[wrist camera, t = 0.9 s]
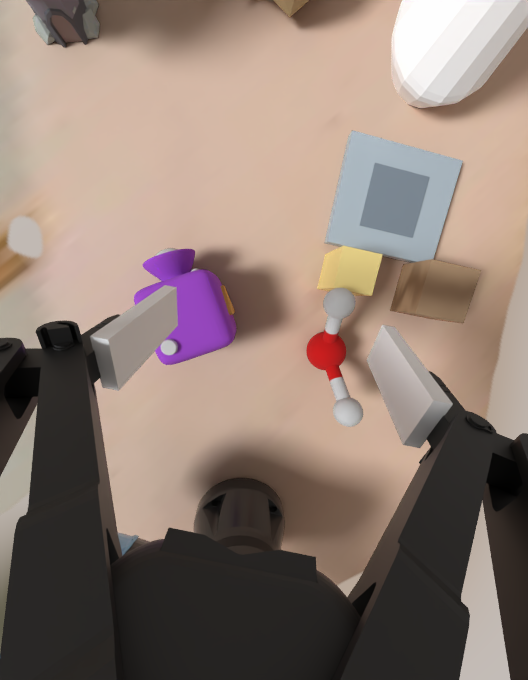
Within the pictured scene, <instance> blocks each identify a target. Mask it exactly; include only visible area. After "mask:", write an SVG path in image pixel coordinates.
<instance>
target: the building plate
mask: <svg viewBox="0 0 528 680" xmlns="http://www.w3.org/2000/svg"><path fill="white" fill-rule="evenodd" d="M462 162H463V161H462V160H458V159H454V158H451V157H447V156H444V155H440V154H436V153H433V152H429V151H425V150H422V149H418V148H415V147H411V146H407V145H404V144H400V143H396V142H393V141H389V140H385V139H382V138H378V137H375V136H371V135H367V134H364V133H360V132H356V131H353V130H352V132H351V133H350V135H349V136H348V141H347V145H346V150H345V154H344V159H343V163H342V167H341V172H340V176H339V181H338V185H337V190H336V194H335V199H334V203H333V207H332V212H331V216H330V221H329V225H328V230H327V234H326V238H325V243H326V244H330V245H335V246H339V247H341V246H348V247H352V248H357V249H361V250H365V251H370V252H374V253H379V254H383V255H382V256H384V257H388V258H392V259H397V260H401V261H406V262H410V263H414V262H419V261H425V260H430V259H433V258H434V255H435V252H436V248H437V245H438V242H439V238H440V235H441V232H442V228H443V225H444V222H445V218H446V215H447V212H448V208H449V205H450V202H451V198H452V195H453V192H454V188H455V185H456V182H457V179H458V175H459V172H460V169H461V165H462Z"/></svg>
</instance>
